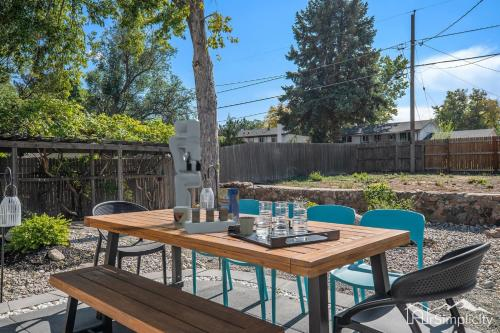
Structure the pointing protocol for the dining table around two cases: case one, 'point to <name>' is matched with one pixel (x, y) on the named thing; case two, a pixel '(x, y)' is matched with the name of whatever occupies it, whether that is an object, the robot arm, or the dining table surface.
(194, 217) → the plug left
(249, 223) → the flower pot
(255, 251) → the dining table surface
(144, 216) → the dining table surface
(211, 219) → the plug middle
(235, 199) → the beverage box
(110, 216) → the dining table surface
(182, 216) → the coffee cup
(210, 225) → the socket board
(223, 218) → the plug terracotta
